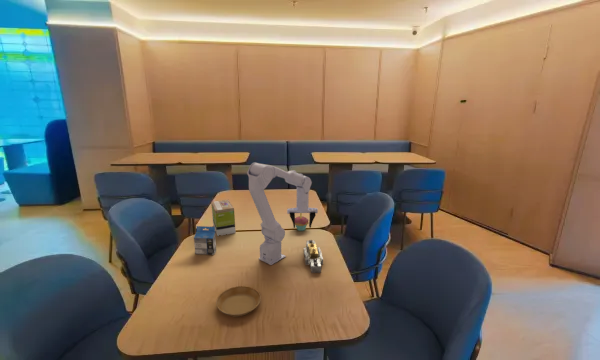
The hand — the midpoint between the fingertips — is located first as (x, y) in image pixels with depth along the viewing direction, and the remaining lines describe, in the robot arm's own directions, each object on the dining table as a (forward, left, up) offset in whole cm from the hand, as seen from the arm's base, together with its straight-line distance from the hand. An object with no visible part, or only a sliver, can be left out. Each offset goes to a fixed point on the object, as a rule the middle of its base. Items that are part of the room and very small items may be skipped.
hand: (302, 226), depth 136 cm
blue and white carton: (-35, +29, -10) cm, 46 cm away
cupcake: (+14, +12, -10) cm, 21 cm away
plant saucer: (-48, -11, -10) cm, 50 cm away
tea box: (-14, +44, -10) cm, 47 cm away
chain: (-7, -12, -9) cm, 17 cm away
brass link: (-6, -12, -9) cm, 16 cm away
